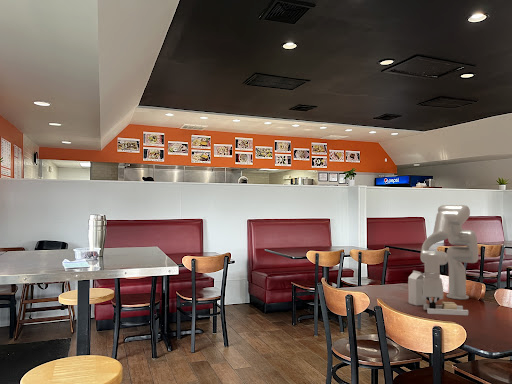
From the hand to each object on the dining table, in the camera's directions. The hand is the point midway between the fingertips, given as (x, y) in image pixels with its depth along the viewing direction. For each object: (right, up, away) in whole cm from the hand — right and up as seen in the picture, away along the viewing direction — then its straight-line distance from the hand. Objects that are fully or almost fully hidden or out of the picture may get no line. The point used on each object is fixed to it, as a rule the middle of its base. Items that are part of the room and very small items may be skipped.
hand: (432, 309), depth 223 cm
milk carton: (-2, -2, +16) cm, 17 cm away
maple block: (+8, -1, -2) cm, 8 cm away
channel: (+6, -1, -1) cm, 6 cm away
